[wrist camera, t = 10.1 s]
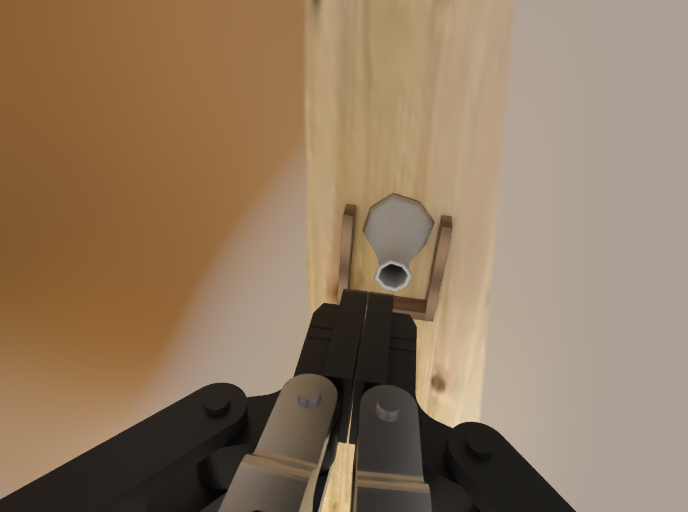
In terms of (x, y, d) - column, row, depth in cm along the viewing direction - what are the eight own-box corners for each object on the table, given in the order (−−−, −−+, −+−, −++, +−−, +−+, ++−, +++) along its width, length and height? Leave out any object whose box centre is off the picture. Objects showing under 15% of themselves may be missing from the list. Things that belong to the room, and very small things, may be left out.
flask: (391, 181, 50) (384, 226, 41) (446, 220, 51) (451, 272, 43) (351, 230, 53) (337, 281, 45) (404, 265, 55) (400, 321, 46)
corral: (346, 204, 52) (343, 214, 49) (451, 216, 51) (452, 228, 49) (339, 295, 58) (336, 308, 56) (432, 308, 57) (433, 321, 55)
